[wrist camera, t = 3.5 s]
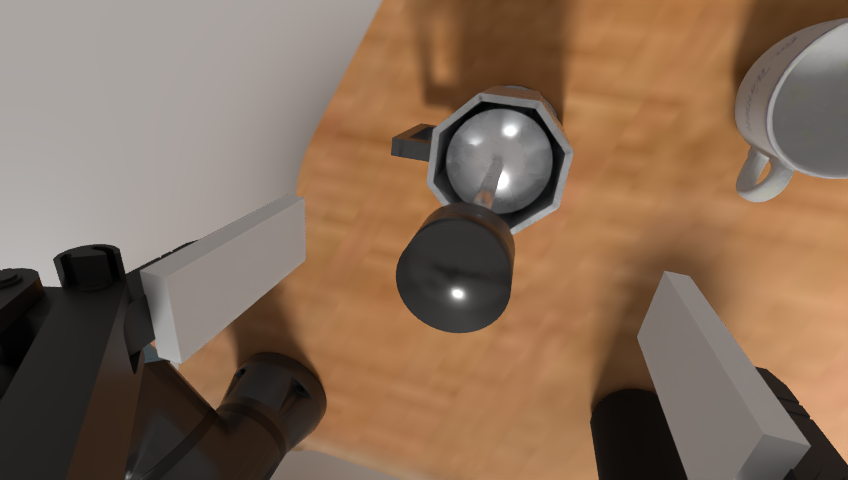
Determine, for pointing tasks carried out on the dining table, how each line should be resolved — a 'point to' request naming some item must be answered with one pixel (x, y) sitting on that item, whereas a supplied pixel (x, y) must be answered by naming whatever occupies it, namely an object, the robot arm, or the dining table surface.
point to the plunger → (475, 223)
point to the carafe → (436, 139)
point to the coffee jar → (634, 438)
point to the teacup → (795, 110)
